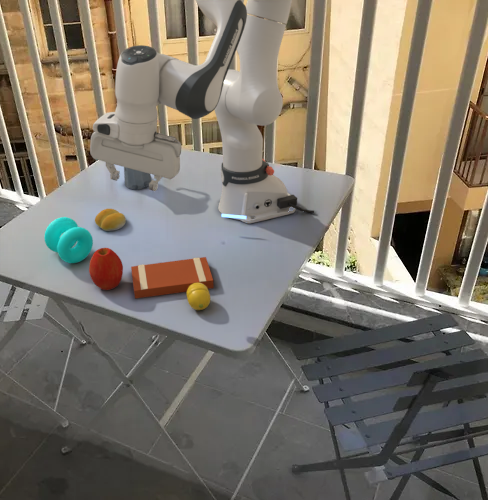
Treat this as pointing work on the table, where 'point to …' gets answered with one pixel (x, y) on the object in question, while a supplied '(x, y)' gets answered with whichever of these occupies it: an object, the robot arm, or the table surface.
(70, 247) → the donuts
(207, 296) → the lemon
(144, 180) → the moka pot
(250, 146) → the robot arm
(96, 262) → the apple
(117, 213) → the bread roll
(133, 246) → the table surface
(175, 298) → the table surface
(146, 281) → the tea towel
